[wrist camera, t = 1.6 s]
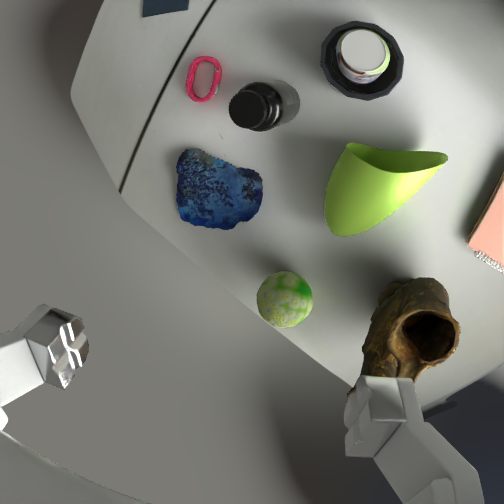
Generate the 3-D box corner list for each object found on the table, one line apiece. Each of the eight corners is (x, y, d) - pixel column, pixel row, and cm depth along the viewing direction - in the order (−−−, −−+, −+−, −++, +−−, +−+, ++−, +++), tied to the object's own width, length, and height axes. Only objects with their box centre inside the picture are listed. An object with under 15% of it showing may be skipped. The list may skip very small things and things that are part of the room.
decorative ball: (264, 294, 64) (244, 326, 56) (274, 253, 59) (252, 284, 51) (311, 311, 62) (295, 347, 54) (325, 272, 56) (311, 307, 48)
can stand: (330, 23, 36) (323, 17, 32) (404, 36, 32) (406, 30, 29) (324, 91, 41) (317, 91, 37) (396, 105, 38) (397, 107, 34)
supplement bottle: (258, 79, 44) (221, 81, 35) (302, 82, 42) (274, 82, 33) (257, 121, 48) (220, 134, 38) (299, 126, 46) (272, 139, 36)
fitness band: (214, 105, 49) (209, 106, 48) (186, 97, 50) (181, 98, 49) (226, 60, 44) (221, 60, 43) (196, 53, 45) (191, 53, 44)
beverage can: (331, 64, 39) (312, 57, 29) (365, 31, 34) (357, 13, 25) (362, 94, 39) (354, 97, 30) (398, 62, 35) (401, 54, 25)
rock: (183, 143, 55) (176, 146, 53) (271, 173, 51) (266, 176, 50) (175, 212, 63) (170, 216, 62) (252, 244, 60) (248, 250, 59)
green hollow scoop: (376, 111, 32) (298, 229, 45) (455, 167, 33) (368, 268, 46) (371, 97, 38) (305, 201, 51) (440, 145, 39) (367, 237, 52)
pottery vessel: (399, 357, 59) (386, 440, 43) (352, 340, 61) (329, 422, 46) (461, 261, 44) (480, 347, 29) (405, 237, 47) (405, 318, 31)
